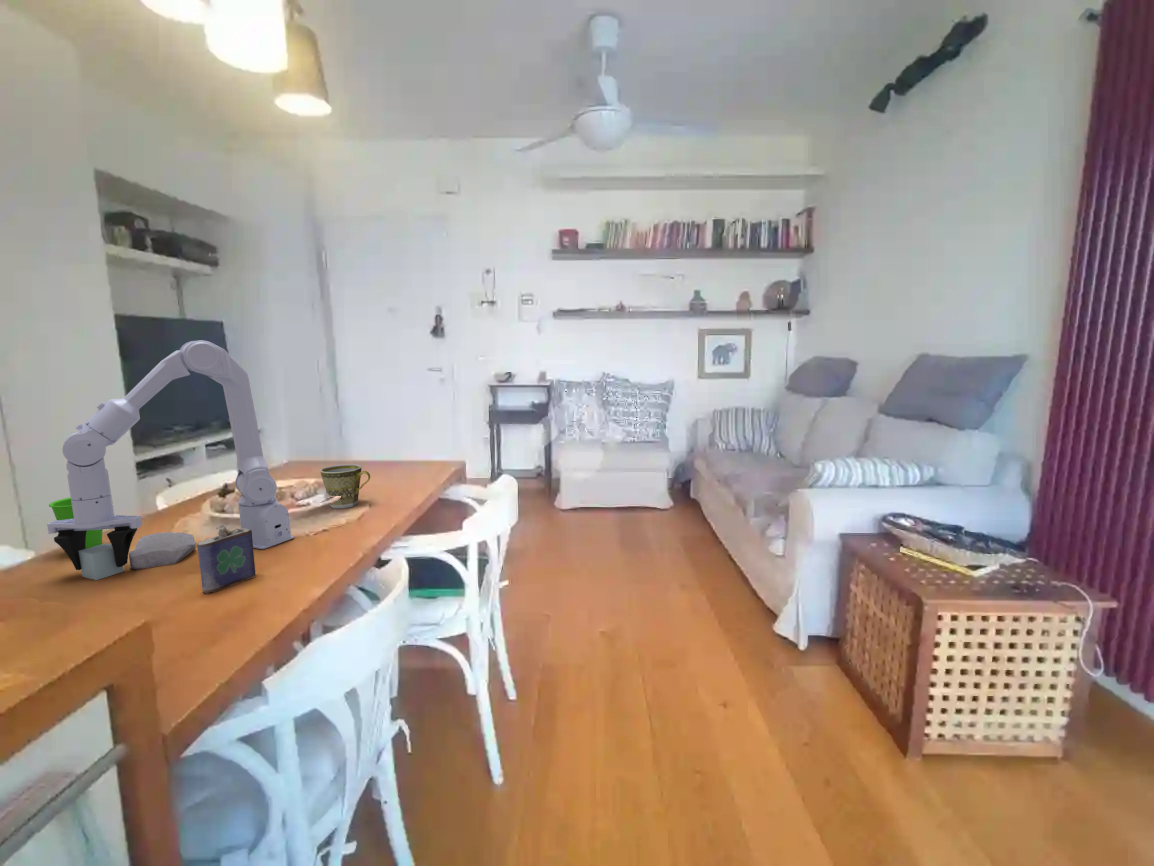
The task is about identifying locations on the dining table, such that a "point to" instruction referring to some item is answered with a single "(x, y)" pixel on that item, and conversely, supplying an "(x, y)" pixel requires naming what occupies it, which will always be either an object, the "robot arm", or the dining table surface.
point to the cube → (98, 562)
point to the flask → (226, 559)
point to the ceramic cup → (343, 483)
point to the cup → (65, 512)
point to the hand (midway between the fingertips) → (102, 566)
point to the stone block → (161, 549)
